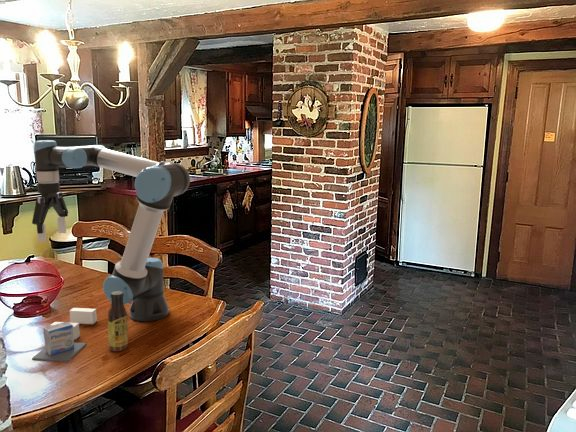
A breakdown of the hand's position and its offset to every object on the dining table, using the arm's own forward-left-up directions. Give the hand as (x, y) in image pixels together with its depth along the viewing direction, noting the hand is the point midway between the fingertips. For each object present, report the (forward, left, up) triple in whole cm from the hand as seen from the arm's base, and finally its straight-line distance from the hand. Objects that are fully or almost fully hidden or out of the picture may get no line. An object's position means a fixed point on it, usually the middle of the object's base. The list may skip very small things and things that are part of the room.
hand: (52, 237), depth 181 cm
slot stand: (-13, +12, -32) cm, 36 cm away
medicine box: (-17, +29, -31) cm, 46 cm away
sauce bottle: (-35, +24, -32) cm, 53 cm away
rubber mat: (-17, +29, -32) cm, 46 cm away
